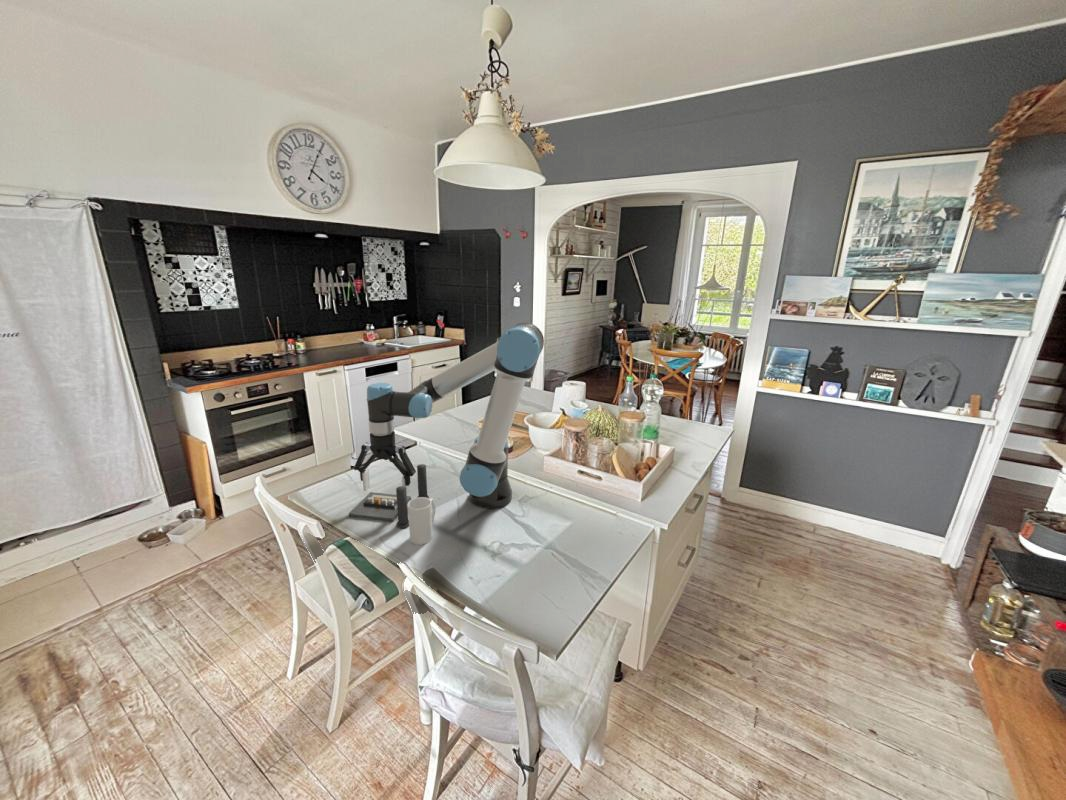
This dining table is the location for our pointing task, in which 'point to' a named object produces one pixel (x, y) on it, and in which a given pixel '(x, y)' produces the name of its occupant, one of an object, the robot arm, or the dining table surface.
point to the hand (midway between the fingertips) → (386, 491)
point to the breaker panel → (377, 507)
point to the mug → (421, 519)
